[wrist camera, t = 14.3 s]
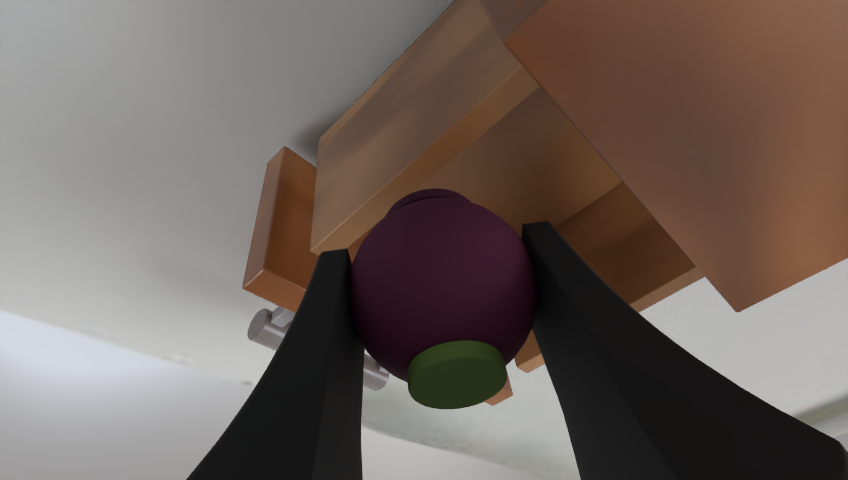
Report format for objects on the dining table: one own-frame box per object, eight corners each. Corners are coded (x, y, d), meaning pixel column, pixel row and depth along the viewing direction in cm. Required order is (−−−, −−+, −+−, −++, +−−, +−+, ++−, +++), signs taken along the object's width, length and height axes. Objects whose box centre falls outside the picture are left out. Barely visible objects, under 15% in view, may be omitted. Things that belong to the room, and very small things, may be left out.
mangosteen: (312, 216, 13) (298, 383, 9) (460, 124, 11) (507, 281, 8) (409, 300, 15) (425, 453, 12) (538, 235, 14) (598, 387, 11)
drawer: (405, 334, 30) (416, 447, 25) (203, 230, 22) (162, 359, 18) (678, 151, 22) (770, 259, 17) (507, -92, 15) (583, -23, 10)
